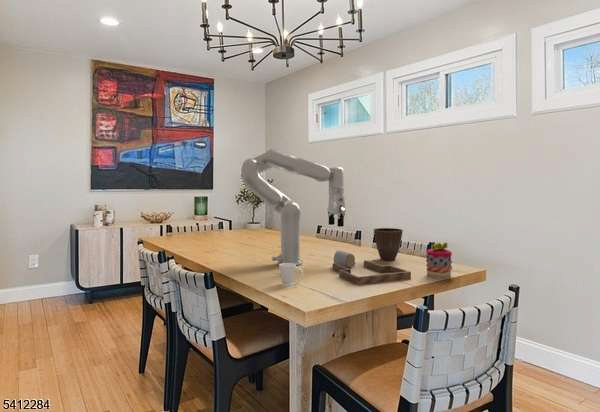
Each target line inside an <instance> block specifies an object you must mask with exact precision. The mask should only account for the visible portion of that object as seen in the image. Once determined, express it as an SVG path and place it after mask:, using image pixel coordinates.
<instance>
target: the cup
mask: <svg viewBox="0 0 600 412" xmlns="http://www.w3.org/2000/svg"><path fill="white" fill-rule="evenodd" d="M278 267H279V273H280V279H281V281H282V286H285V287H290V286H295V285H298V284H299V283H301V282H302V280H303V279H304V272H303V269H302V268H301V267H297V265H296V264H294V263H282V264H278ZM296 270H299V271H301V279H300V280H298V281H297V282H295V283H294V280H295V274H296Z"/></svg>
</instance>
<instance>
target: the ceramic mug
mask: <svg viewBox="0 0 600 412" xmlns="http://www.w3.org/2000/svg"><path fill="white" fill-rule="evenodd" d="M333 263H335V264H338V265H341V266H343V267H346V268H348V269H351V268H352V267H353V266H355V265H356V263H357V262H356V258H355V255H354V254H353V253H351V252H348V251H344V250H337V251H336V252H335V253H334V255H333Z"/></svg>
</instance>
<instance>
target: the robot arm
mask: <svg viewBox="0 0 600 412" xmlns="http://www.w3.org/2000/svg"><path fill="white" fill-rule="evenodd" d="M272 168H276V169H278V170H281V171H284V172H287V173H290V174H293V175H299V176H303V177H307V178H311V179H313V180H315V181H316V182H318V183H319V182H320V183H324V182H328V195H329V196H328V207H327V214H328V225H329V226H331V225H332V226H333V225H335V221H336V220H335V215H337V224H336V225H337V227H339V228H340V227H344V224H345V223H344V222H345V220H344V219H345V216H346V202H345V195H344V189H345V188H344V181H345V179H344V178H345V177H344V174H345V173H344V168H343V167H337V166H335V167H333V166H332V167H327V166H325V165H322V164H318V163H316V162H313V161H309V160H307V159H304V158H301V157H298V156H295V155H293V154H290V153H286V152H284V151H281V150H278V149H275V148H274V149H273V148H270V149H268V150H266V151H265V152H264V153H262V154H260V155H257V156H255V157H253V158H252V157H251V158H247V159H245V160H244V161H243V163H242V165H241V170H240V171H241V173H240V174H241V180H242V182H243V184H244V185H245V187H247V189H248V190H249V191H250V192H252V193H253V194H254V195H256V196H257V197H258V198H259V199H260V200H261V201H262V202H263V203H265V204H266V205H267V206H269V207H270V208H271V209H273V210H274V211H276V212H277V213H278V214H279V215H280V254H279V255H277V256H272V257H271V260H272V261H273V262H274V261H276V262H277V264H278V265H279V264H282V263H294V264H296V266H301V265H303V263H304V261H303V259H302V260H301V252H300V251H301V238H300V237H301V235H300V233H301V231H300V229H301V228H300V227H301V208H300V205H299V204H298V203H297V202H296V201H294V200H293V199H291V198H289V197H288V196H287V195H285V194H284V193H283V192H281V190H279V189H278V188H277V187H274V186H273V185H272V184H271V183H269V182H268V181H267V180H265V179H264V178H263V177H262V176H261V175H260V174H261V173H264V172H265V171H268V170H270V169H272Z"/></svg>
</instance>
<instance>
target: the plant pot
mask: <svg viewBox="0 0 600 412" xmlns="http://www.w3.org/2000/svg"><path fill="white" fill-rule="evenodd" d="M373 234H374V235H373V236H374V240H375V245H376V249H377V252H378V255H379V258H380V260H381V261H384V262H385V261H386V262H393V261H395V260H396V258H397V256H398V253H399V250H400V246H401V243H402V237H403V229H402V228H395V227H393V228H392V227H391V228H389V227H385V228H384V227H382V228H374V229H373Z"/></svg>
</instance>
